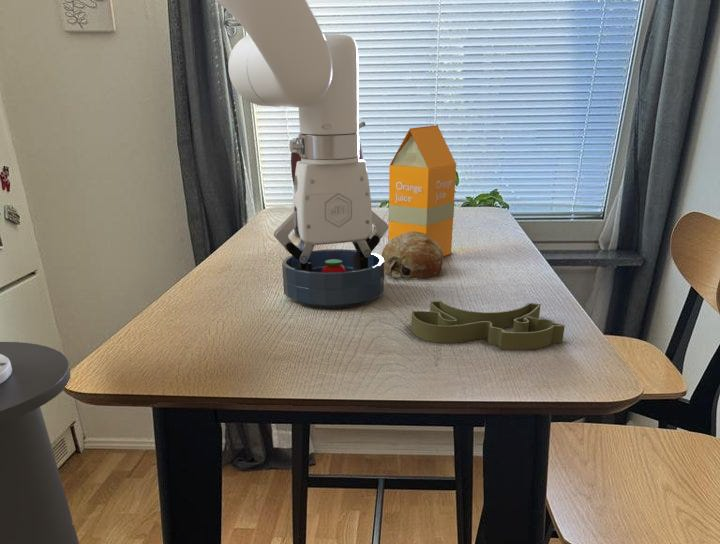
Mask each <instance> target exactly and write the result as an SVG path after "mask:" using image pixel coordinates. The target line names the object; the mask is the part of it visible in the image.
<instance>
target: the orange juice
mask: <svg viewBox="0 0 720 544" xmlns="http://www.w3.org/2000/svg"><path fill="white" fill-rule="evenodd" d="M388 167H389V169H388V171H389V172H388V174H389V175H388V177H389V178H388V181H389V182H388V242H389V241H390V240H391V239H392V238H395V237H397V236H399V235H401V234H404V233H408V232H413V231H415V232H421V233H425V234H426V235H428V236H429V237H431V238H432V239H433V240H434V241H435V242H436V243H437V244H439V245H440V246H441V249H442V251H443V257H445V256H449V255H450V254H452V247H453V246H452V245H453V243H452V242H453V227H454V218H455V216H454V215H455V193H456V176H457V175H456V174H457V162H456V161H455V158H454V157H453V155H452V153H451V151H450V148H449V146H448V145H447V142H446V140H445V138H444V135H443V133H442V131H441V129H440V127H439V124H436V125H427V126H419V127H409V129H408V130H407V133H406V135H405V137H404V138H403V140H402V141H401V144H400V146H398V149H397V151H396V153H395V154H394V156H393V158H392V160H391V162H390V163H389V166H388Z"/></svg>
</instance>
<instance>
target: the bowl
mask: <svg viewBox="0 0 720 544" xmlns="http://www.w3.org/2000/svg"><path fill="white" fill-rule="evenodd" d="M354 254H356V249H343V248H335V249H334V248H333V249H329V248H328V249H317V250H316V249H315V250H312V252H311V255H310V257H309V262H310V263H311V264H312V270H313V272H310V271H304V270H298V260H297V259H296V258H295V257H294V256H292V255H291V254H290V255H288V256H287V257H285V258H284V259H282V262H281V270H282V271H281V272H282V284H283V294H284V295H285V296H286V297H287V298H288V299H290V300H292V301H295V302H297V303H298V304H301V305H303V306H307V307H313V308H320V309H321V308H322V309H342V308H343V309H344V308H350V307H351V308H352V307H356V306H361V305H364V304H366V303H369V302H371V301H372V300H374V299H376V298H379V297H380V296H382V294H383V293H384V292H385V272H384V260H383V257H382V255H379V254H377V253H373V252H371V256H370V257H368V268H367V269H362V270H357V271H353V255H354ZM331 259H338V260H342V266H344V268H345V269H346V271H347V272H329V273H325V272H322V269H323V268H324V267H325V266H326V265H325V261H327V260H331Z"/></svg>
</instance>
